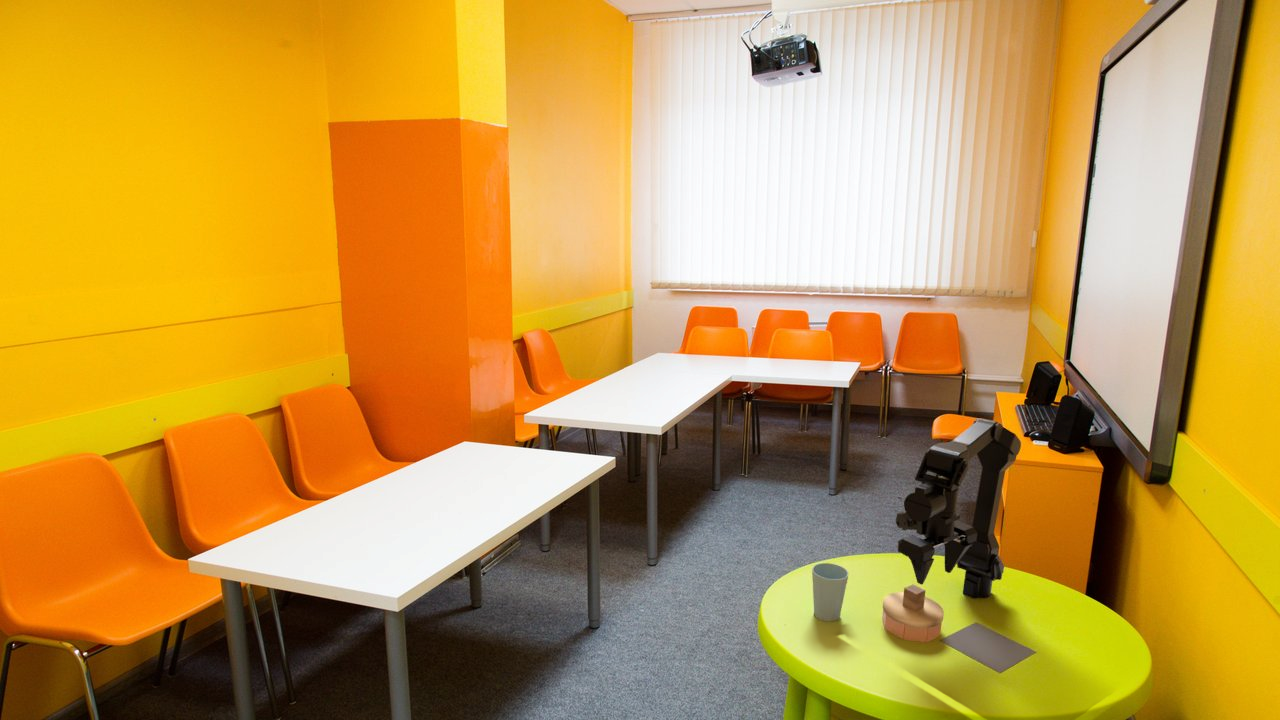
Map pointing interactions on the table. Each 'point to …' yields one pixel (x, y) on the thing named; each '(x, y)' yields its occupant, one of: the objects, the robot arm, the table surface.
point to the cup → (828, 590)
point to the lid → (913, 608)
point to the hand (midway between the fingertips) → (934, 577)
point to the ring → (910, 630)
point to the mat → (988, 647)
